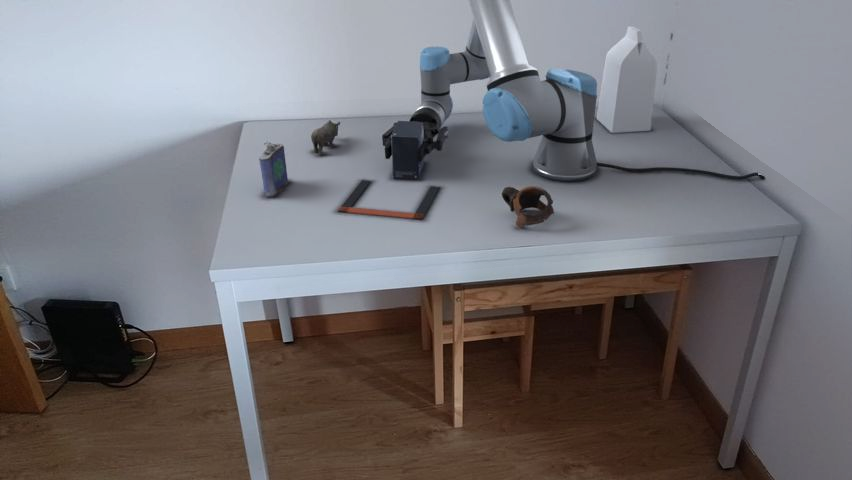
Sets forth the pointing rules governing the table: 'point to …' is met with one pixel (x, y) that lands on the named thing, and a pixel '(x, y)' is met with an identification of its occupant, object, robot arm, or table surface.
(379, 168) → the table surface
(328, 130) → the rhino figurine
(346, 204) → the bay
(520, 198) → the pottery mug
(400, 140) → the small box
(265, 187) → the flask
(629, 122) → the milk
